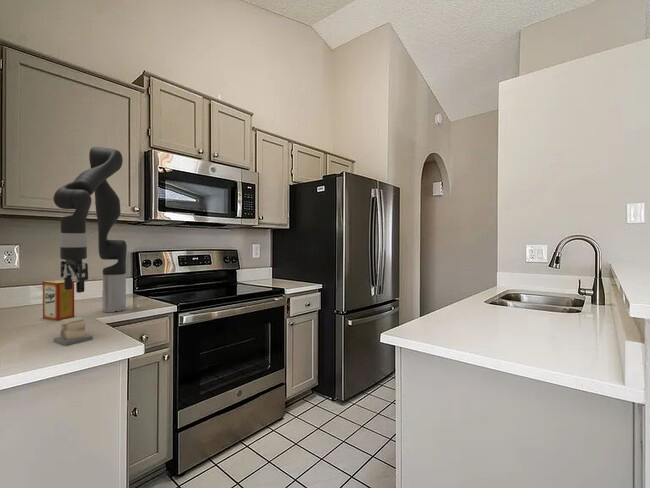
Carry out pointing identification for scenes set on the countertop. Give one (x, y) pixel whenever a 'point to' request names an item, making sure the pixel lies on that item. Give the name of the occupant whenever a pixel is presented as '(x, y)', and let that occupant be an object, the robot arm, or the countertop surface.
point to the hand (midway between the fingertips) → (74, 290)
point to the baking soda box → (57, 300)
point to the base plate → (72, 340)
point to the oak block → (72, 329)
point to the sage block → (72, 319)
